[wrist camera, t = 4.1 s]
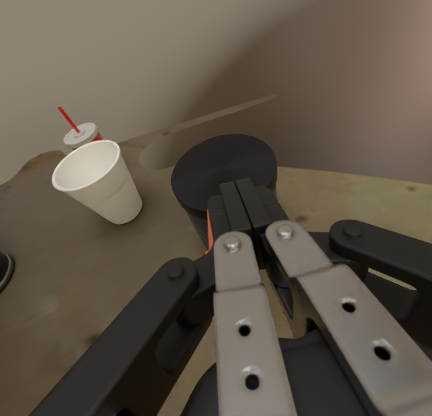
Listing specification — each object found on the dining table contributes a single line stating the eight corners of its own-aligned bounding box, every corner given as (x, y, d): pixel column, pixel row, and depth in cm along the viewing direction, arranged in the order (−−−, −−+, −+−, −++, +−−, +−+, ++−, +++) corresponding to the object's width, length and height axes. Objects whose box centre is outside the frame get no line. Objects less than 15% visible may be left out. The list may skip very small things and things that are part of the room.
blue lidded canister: (289, 259, 30) (289, 197, 21) (203, 272, 32) (167, 221, 23) (271, 192, 37) (265, 124, 28) (201, 206, 39) (173, 146, 30)
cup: (141, 180, 46) (108, 130, 38) (162, 211, 40) (129, 161, 32) (93, 209, 44) (47, 164, 36) (108, 247, 38) (56, 203, 30)
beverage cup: (89, 181, 50) (33, 120, 39) (102, 160, 53) (54, 99, 42) (114, 180, 48) (64, 116, 37) (126, 158, 52) (83, 94, 41)
